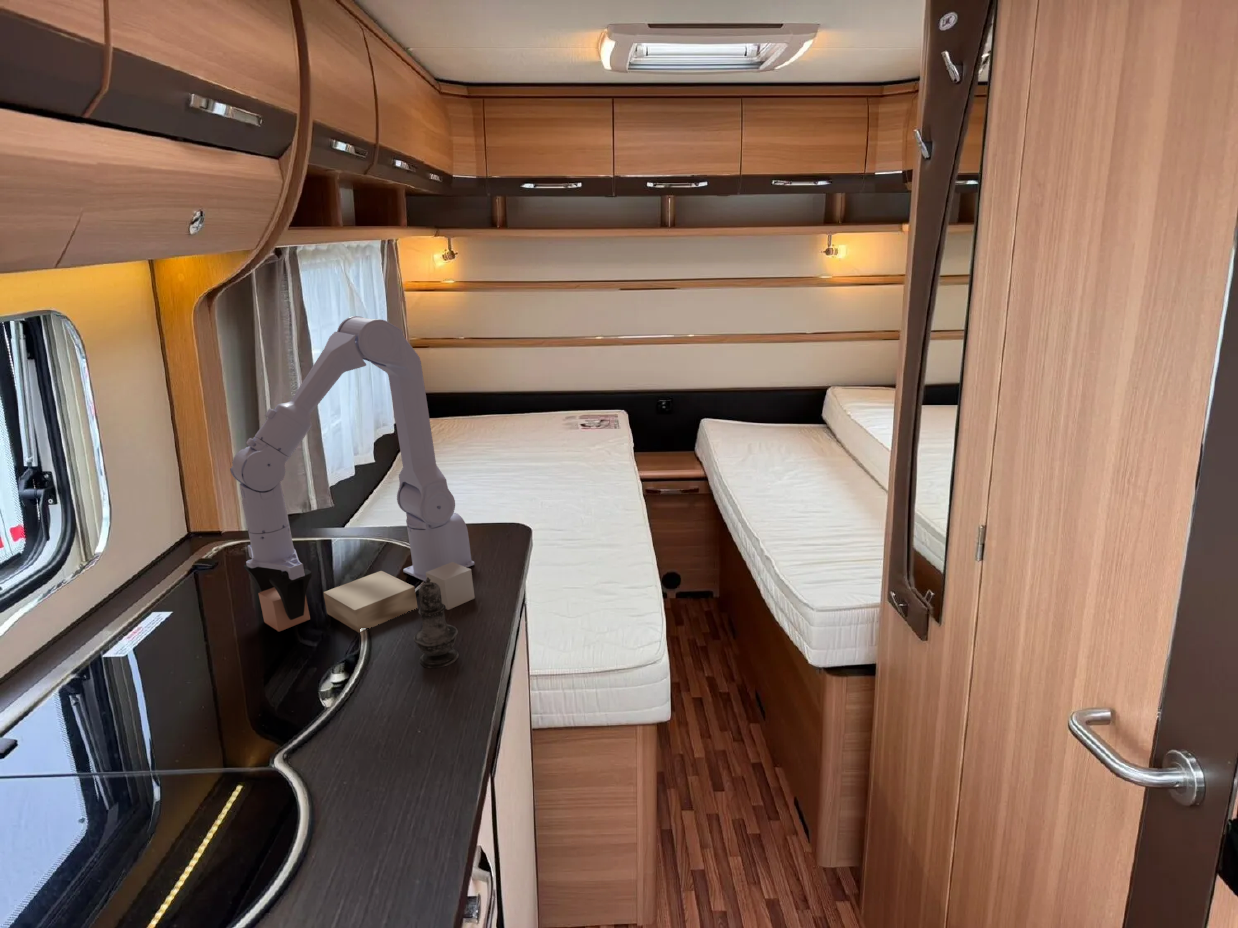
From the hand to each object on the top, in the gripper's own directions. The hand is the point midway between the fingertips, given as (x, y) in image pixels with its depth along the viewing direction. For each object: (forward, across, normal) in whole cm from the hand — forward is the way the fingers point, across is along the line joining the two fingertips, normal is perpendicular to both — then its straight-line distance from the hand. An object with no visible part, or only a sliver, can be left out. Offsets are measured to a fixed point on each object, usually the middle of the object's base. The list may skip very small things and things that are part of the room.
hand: (285, 610), depth 132 cm
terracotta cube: (+2, 0, 0) cm, 2 cm away
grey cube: (+2, +15, +20) cm, 25 cm away
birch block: (+2, +8, +10) cm, 13 cm away
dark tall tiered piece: (+2, +29, +8) cm, 30 cm away
